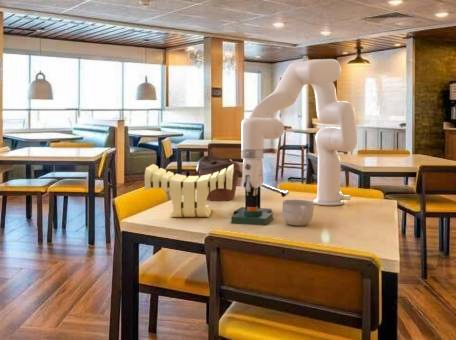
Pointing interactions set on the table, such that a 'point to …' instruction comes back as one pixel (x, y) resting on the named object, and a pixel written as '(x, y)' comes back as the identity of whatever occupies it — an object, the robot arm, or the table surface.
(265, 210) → the bracket
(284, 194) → the lever
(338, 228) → the table surface
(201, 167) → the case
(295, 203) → the teacup
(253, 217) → the button block
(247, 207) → the button
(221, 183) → the slatted curved stool
